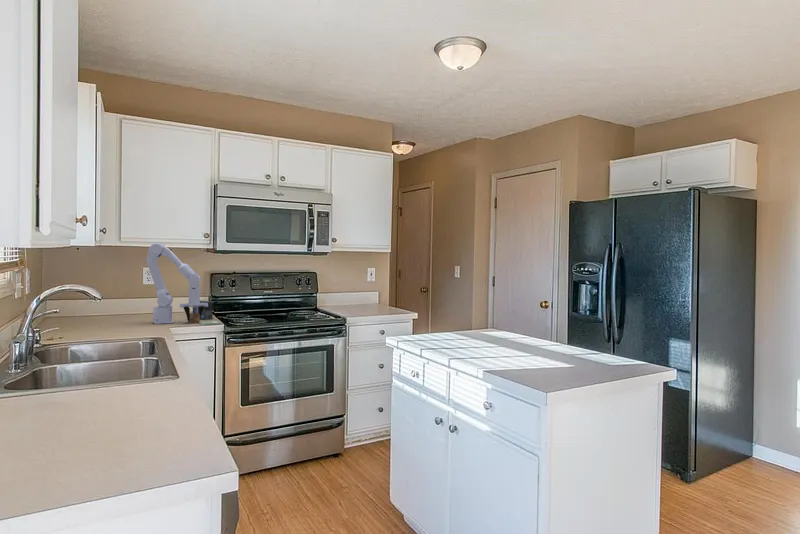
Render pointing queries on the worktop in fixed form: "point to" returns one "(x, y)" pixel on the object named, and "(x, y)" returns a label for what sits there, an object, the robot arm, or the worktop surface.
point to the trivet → (209, 322)
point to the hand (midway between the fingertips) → (193, 320)
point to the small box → (205, 311)
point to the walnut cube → (194, 318)
